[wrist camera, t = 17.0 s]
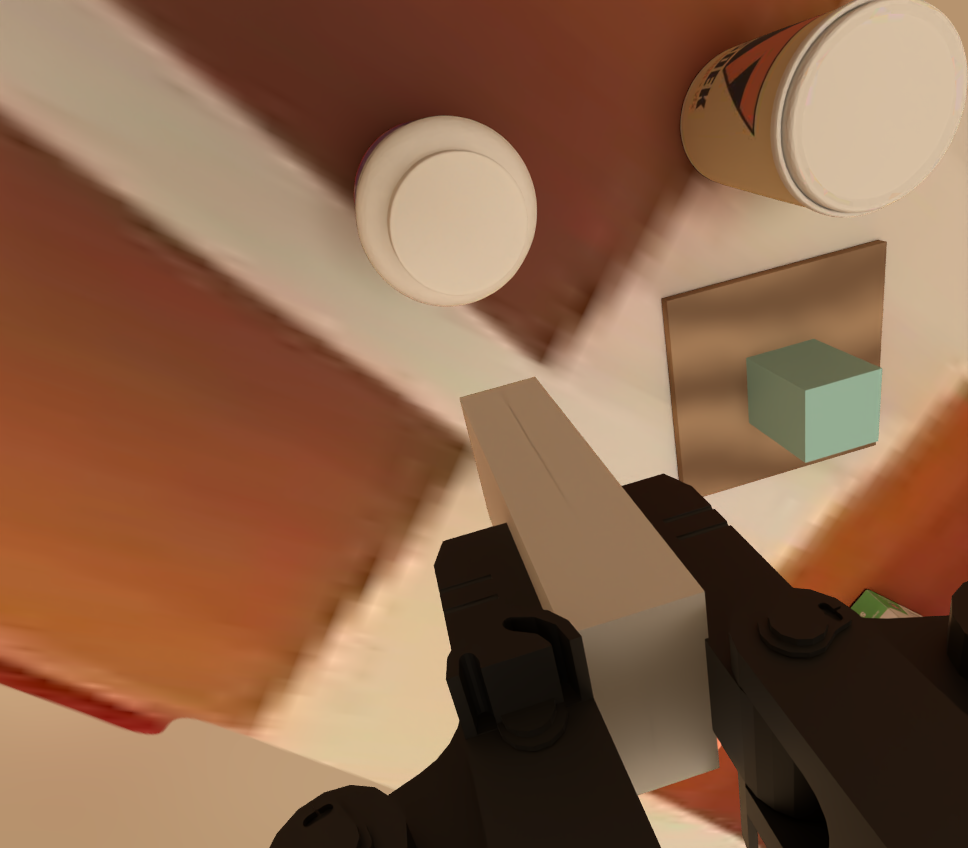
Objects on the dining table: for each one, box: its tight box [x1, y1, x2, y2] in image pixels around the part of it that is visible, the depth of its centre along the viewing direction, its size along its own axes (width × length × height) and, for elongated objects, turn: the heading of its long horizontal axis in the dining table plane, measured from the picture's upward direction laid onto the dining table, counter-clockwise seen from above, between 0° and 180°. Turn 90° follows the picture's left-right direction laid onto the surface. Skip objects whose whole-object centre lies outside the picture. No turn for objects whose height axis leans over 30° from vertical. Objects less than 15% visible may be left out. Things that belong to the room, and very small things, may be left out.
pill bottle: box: [354, 115, 537, 306], centre depth 32 cm, size 8×8×14 cm
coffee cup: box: [680, 0, 968, 217], centre depth 35 cm, size 9×9×12 cm
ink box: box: [851, 590, 923, 618], centre depth 56 cm, size 9×5×12 cm, turn 58°
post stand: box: [662, 240, 887, 497], centre depth 46 cm, size 16×16×6 cm
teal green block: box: [746, 339, 882, 463], centre depth 45 cm, size 5×5×7 cm
